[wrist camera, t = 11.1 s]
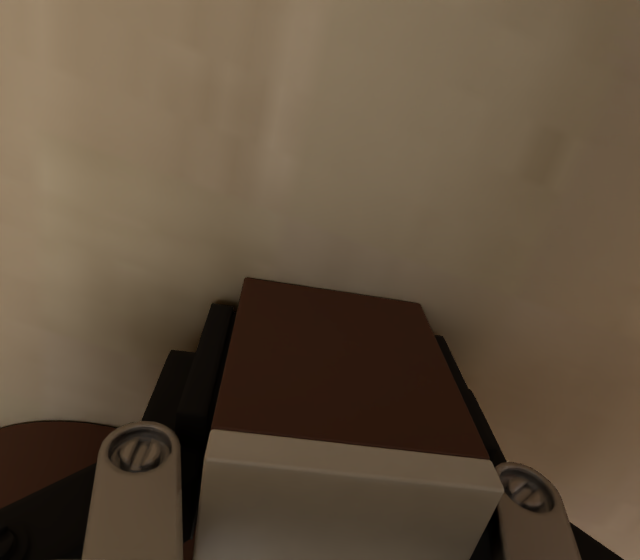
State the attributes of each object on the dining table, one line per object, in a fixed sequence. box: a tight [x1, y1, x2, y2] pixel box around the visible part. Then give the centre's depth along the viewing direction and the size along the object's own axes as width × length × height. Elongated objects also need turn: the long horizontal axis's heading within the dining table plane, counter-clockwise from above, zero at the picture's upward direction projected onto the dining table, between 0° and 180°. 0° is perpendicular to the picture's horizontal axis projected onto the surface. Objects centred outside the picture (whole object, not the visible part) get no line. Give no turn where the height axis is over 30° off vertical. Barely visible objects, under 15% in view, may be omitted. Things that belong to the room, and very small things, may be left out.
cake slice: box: [192, 278, 504, 560], centre depth 10 cm, size 4×4×6 cm
